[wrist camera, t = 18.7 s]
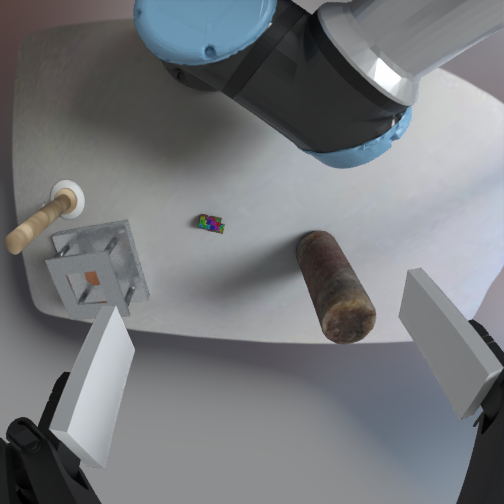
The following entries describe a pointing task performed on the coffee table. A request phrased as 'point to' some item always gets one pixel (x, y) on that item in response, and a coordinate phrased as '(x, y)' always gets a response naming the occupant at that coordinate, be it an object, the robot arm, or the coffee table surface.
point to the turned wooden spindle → (41, 220)
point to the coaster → (79, 194)
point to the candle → (335, 289)
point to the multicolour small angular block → (211, 223)
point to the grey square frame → (97, 269)
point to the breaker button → (92, 278)
